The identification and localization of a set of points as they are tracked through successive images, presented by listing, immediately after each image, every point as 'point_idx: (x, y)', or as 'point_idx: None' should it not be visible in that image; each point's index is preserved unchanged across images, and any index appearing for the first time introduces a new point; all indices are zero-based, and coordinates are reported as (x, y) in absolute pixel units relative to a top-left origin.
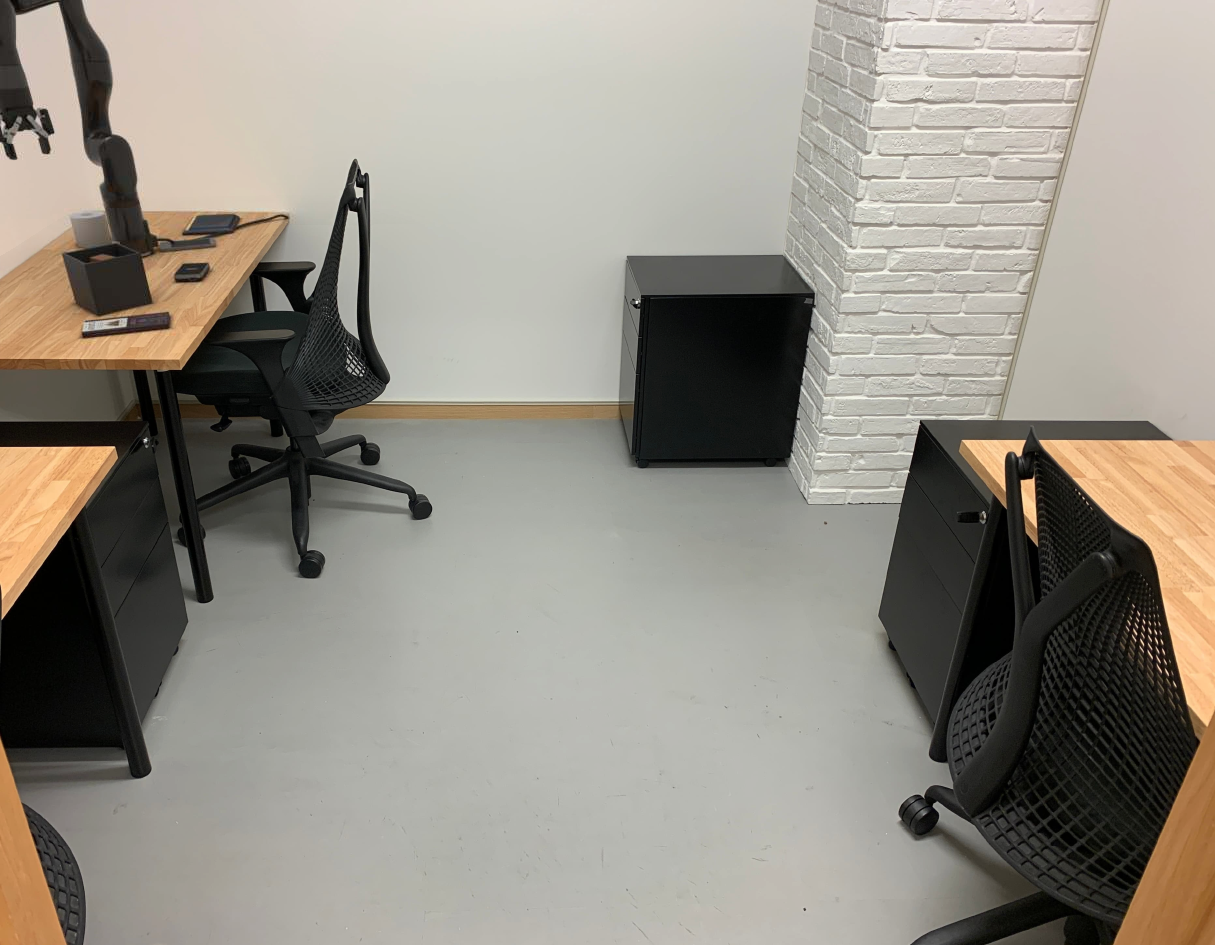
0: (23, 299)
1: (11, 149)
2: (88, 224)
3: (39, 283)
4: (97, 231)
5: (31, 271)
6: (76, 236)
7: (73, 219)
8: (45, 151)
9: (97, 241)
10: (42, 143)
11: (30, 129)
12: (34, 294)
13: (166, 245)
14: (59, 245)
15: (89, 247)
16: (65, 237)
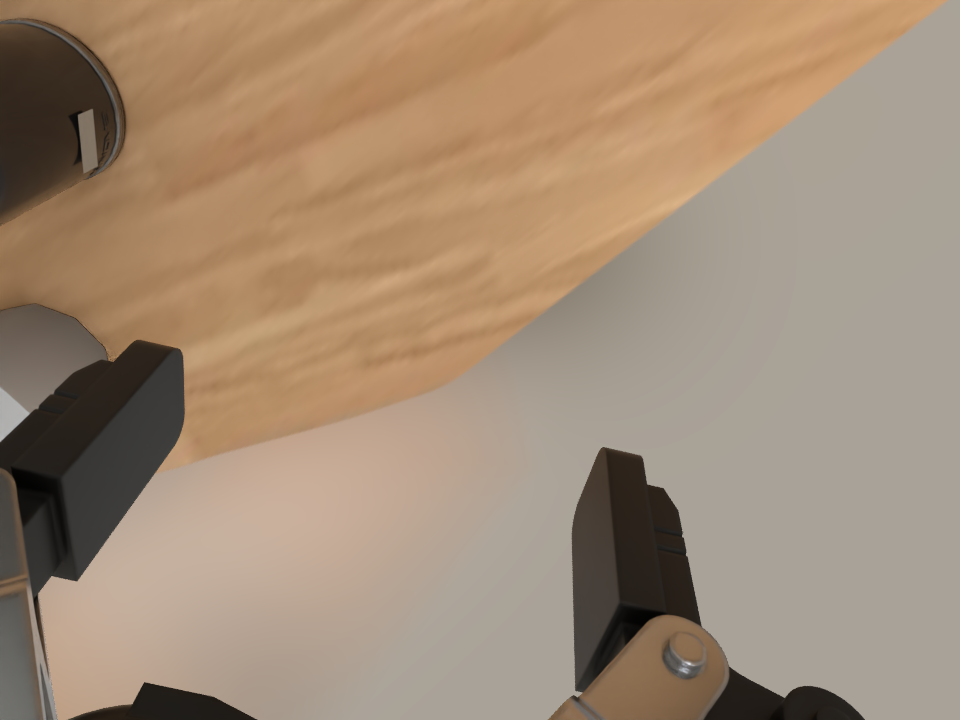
0: (729, 109)
1: (649, 556)
2: (26, 377)
3: (521, 205)
4: (21, 344)
5: (405, 336)
6: None
7: None
8: (164, 390)
9: (56, 327)
10: (109, 473)
11: (159, 699)
12: (658, 115)
13: None
14: None
15: (96, 341)
16: None
